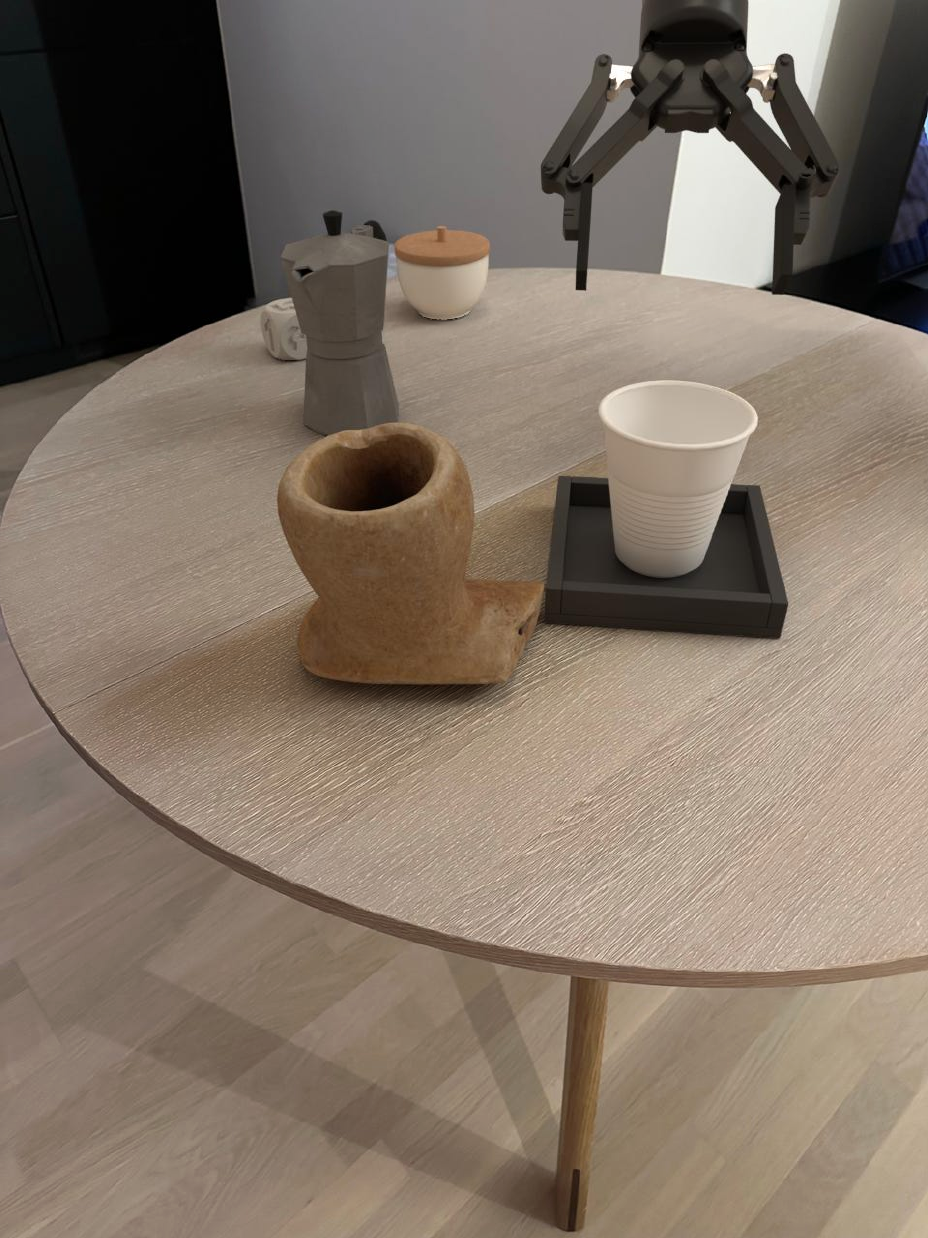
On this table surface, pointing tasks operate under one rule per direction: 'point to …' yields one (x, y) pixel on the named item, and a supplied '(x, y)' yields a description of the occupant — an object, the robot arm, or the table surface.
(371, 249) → the coffeepot
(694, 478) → the cup
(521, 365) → the table surface
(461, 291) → the trinket box
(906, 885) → the table surface
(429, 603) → the stone cup
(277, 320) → the die
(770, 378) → the table surface
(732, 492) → the tray
